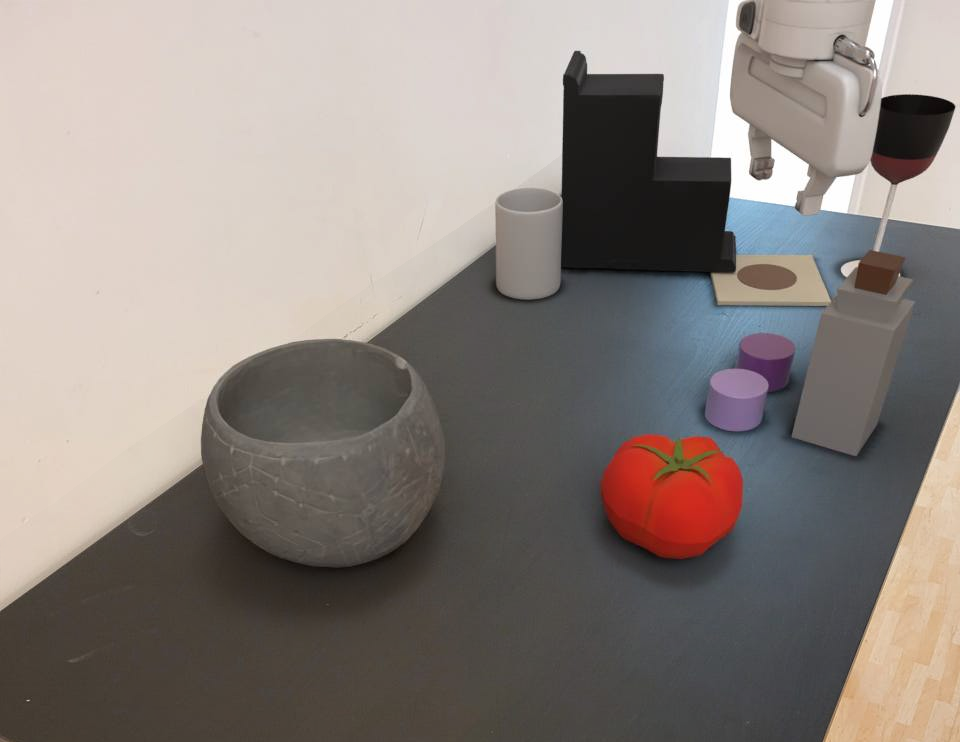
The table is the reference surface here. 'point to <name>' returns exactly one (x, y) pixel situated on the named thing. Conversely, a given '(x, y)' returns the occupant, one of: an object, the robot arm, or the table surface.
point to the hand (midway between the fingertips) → (782, 194)
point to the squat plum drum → (767, 358)
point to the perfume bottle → (855, 355)
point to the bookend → (635, 182)
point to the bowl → (323, 451)
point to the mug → (528, 243)
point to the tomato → (672, 494)
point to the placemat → (771, 282)
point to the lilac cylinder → (736, 399)
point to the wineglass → (906, 144)
